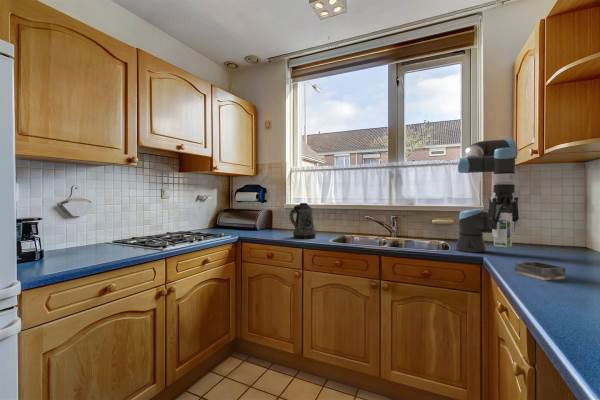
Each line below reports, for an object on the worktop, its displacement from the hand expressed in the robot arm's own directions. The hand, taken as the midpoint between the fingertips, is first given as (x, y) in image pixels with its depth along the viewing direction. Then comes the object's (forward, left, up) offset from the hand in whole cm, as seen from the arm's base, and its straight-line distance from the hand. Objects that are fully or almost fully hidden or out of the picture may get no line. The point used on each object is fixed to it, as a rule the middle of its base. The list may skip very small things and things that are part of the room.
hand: (502, 236), depth 125 cm
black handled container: (+61, -102, -13) cm, 120 cm away
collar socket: (0, +15, -13) cm, 20 cm away
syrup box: (0, 0, -4) cm, 4 cm away
